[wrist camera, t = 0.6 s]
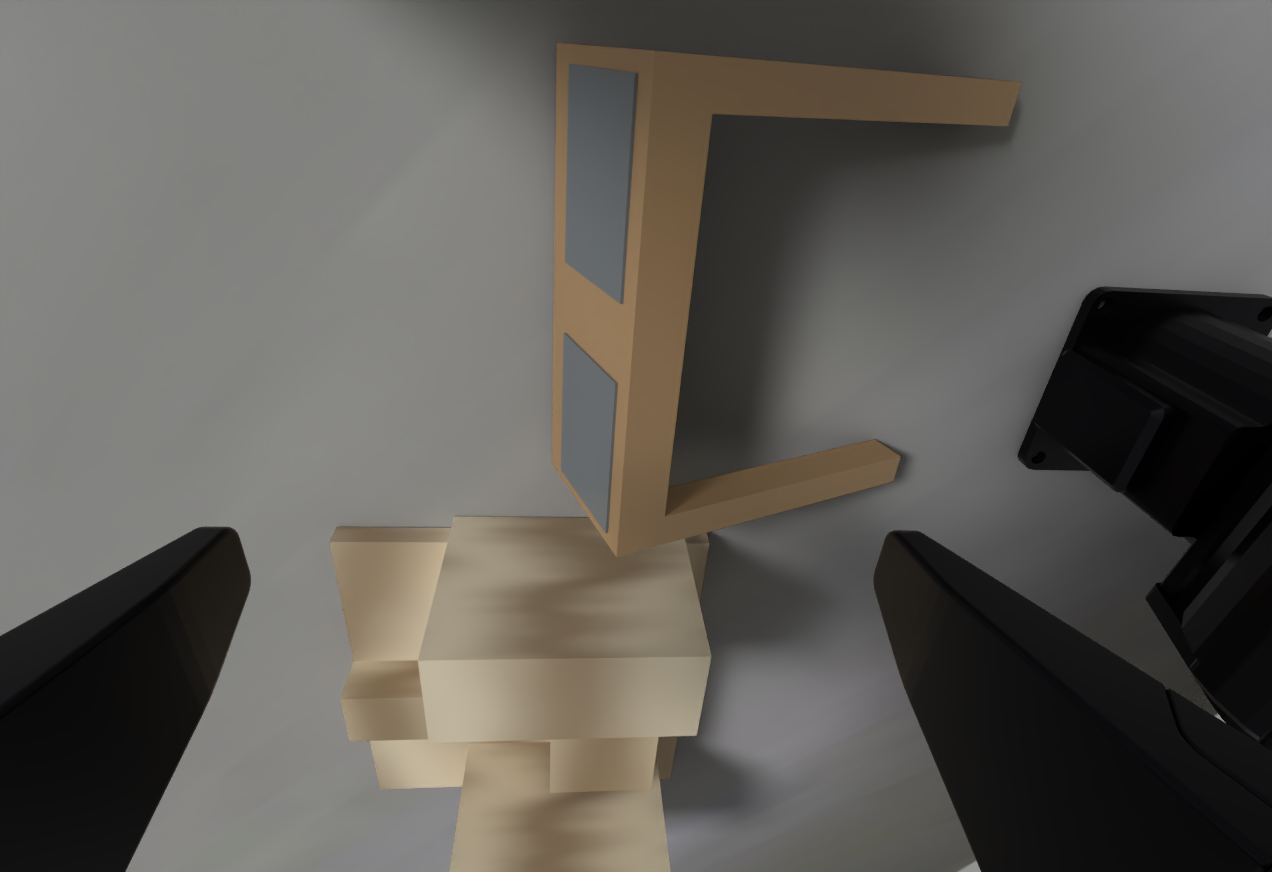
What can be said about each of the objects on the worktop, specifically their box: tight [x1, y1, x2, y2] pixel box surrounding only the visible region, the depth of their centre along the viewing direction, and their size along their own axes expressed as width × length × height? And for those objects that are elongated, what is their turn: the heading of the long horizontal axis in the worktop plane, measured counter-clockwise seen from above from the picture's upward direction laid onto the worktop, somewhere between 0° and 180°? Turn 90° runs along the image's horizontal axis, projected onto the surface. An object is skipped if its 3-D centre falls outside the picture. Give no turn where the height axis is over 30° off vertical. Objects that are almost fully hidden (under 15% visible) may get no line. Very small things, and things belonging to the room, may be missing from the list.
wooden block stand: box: [330, 516, 712, 872], centre depth 24 cm, size 13×15×6 cm
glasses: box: [552, 43, 1022, 557], centre depth 19 cm, size 10×12×5 cm
